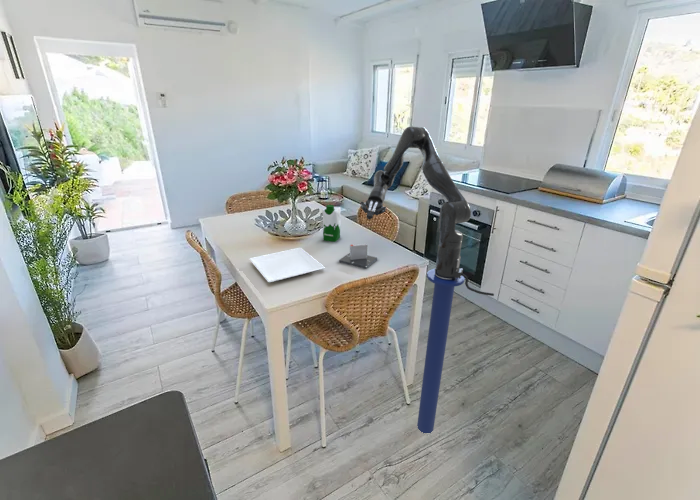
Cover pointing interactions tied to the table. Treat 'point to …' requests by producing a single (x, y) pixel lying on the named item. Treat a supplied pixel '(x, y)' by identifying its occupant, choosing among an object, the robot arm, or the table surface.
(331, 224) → the milk carton
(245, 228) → the table surface
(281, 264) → the plate
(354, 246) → the grey rectangular block
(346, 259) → the panel
